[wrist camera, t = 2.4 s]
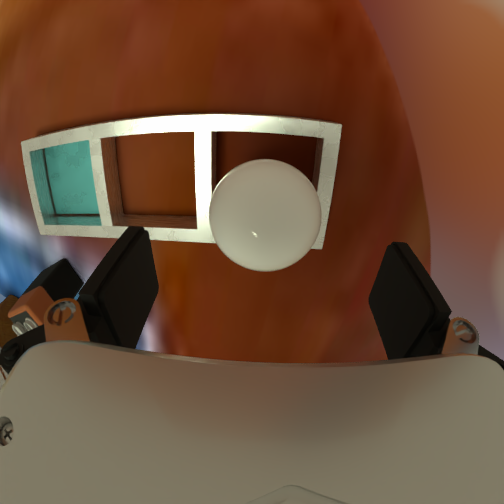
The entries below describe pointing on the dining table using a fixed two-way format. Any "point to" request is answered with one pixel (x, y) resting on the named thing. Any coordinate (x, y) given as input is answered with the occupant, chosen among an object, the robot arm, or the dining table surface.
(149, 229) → the rail
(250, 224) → the lightbulb
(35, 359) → the robot arm
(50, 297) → the battery
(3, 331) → the disposable coffee cup
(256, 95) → the dining table surface
